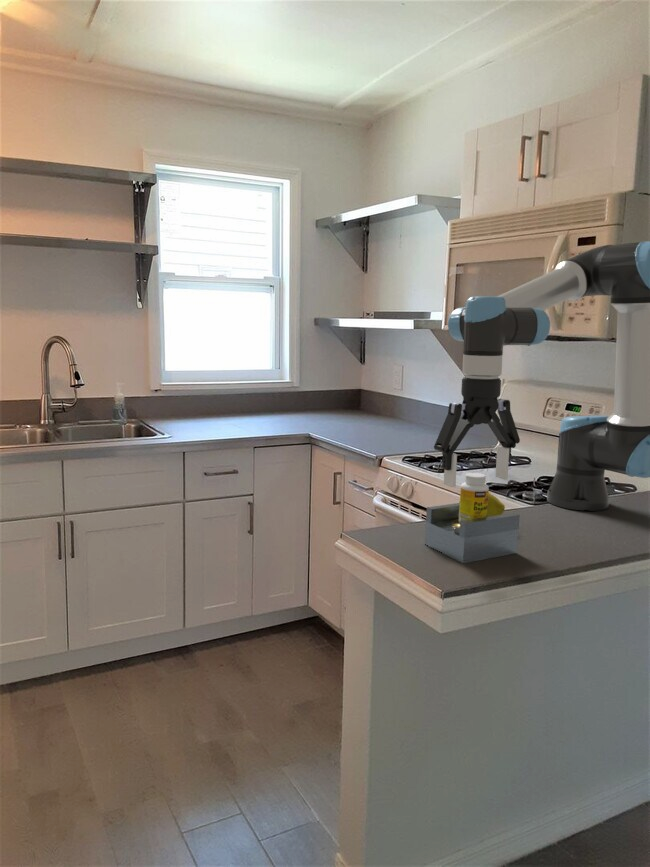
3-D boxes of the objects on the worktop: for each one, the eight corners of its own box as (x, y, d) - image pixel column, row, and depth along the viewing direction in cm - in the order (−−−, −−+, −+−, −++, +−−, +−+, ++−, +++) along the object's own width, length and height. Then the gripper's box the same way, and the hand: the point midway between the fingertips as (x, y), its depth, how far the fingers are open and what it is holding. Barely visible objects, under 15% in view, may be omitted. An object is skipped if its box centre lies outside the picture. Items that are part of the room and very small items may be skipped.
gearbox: (476, 535, 147) (479, 500, 145) (516, 553, 136) (519, 514, 135) (424, 544, 140) (426, 507, 139) (462, 563, 130) (465, 523, 128)
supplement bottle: (472, 529, 134) (475, 479, 132) (452, 522, 138) (455, 473, 137) (492, 525, 137) (495, 476, 135) (472, 518, 141) (475, 470, 140)
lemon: (449, 522, 156) (451, 489, 155) (468, 516, 161) (471, 484, 160) (489, 534, 148) (492, 498, 147) (508, 527, 154) (511, 493, 152)
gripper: (514, 372, 142) (508, 471, 145) (418, 377, 130) (414, 484, 133) (542, 375, 135) (535, 479, 139) (443, 381, 123) (438, 493, 127)
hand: (476, 482), depth 136 cm, fingers open, 13 cm apart
